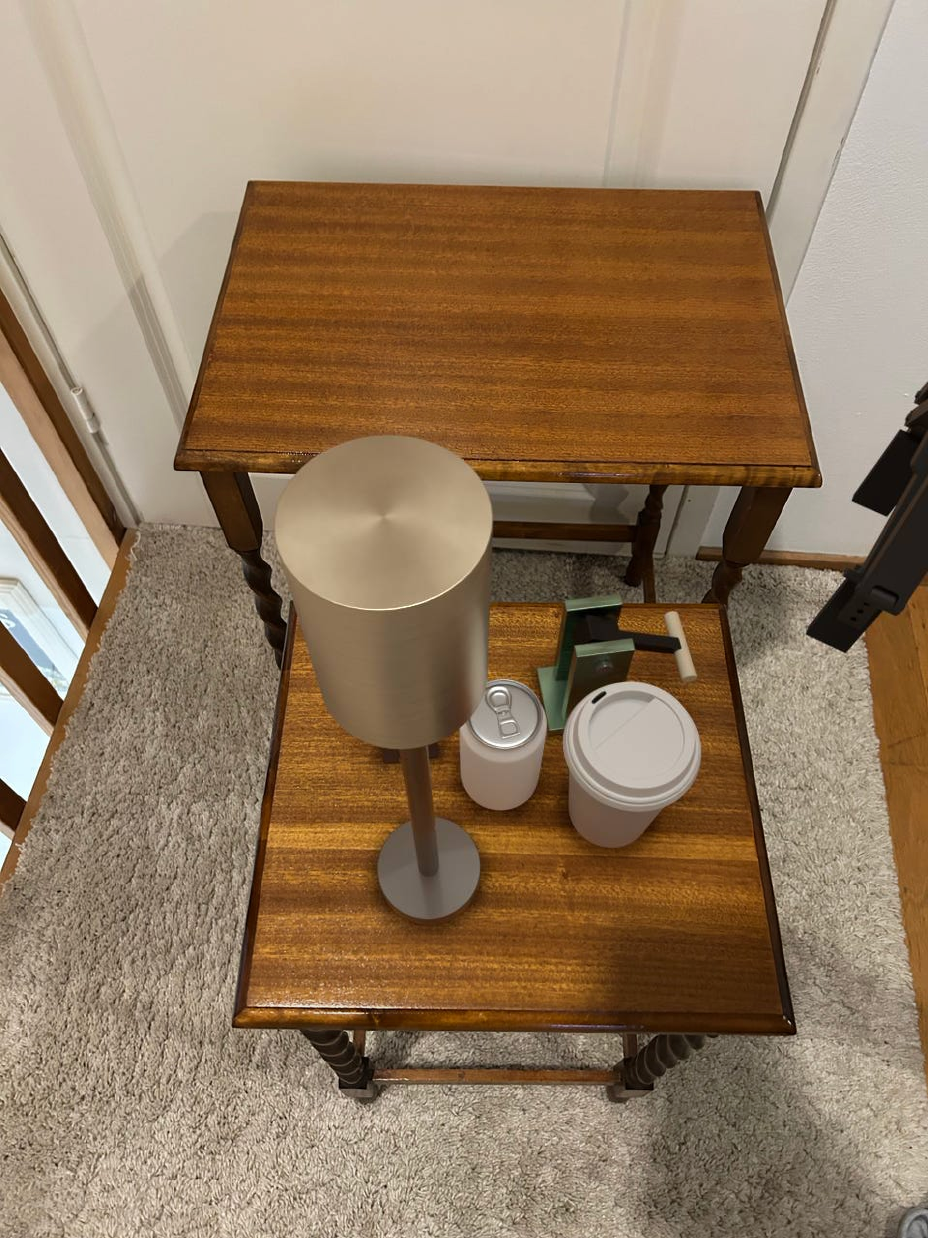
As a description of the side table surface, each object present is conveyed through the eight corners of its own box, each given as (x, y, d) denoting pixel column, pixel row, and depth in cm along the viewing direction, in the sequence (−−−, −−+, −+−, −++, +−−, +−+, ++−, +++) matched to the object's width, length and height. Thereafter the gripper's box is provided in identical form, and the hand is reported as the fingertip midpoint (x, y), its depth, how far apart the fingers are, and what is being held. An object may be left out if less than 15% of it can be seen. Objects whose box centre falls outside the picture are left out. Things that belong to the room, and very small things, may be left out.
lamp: (501, 882, 73) (538, 532, 34) (419, 948, 71) (355, 652, 31) (439, 805, 76) (407, 403, 37) (358, 865, 74) (231, 502, 34)
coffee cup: (638, 740, 79) (670, 654, 66) (687, 845, 74) (732, 775, 62) (532, 774, 78) (544, 693, 65) (575, 883, 73) (598, 819, 60)
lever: (668, 623, 78) (684, 607, 76) (686, 687, 75) (704, 672, 73) (565, 609, 74) (580, 593, 72) (580, 676, 71) (597, 661, 69)
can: (524, 730, 80) (532, 663, 69) (549, 800, 76) (561, 741, 66) (451, 750, 79) (448, 685, 69) (473, 821, 76) (473, 765, 65)
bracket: (613, 664, 83) (635, 585, 72) (628, 725, 80) (654, 653, 69) (535, 674, 82) (546, 596, 72) (548, 736, 79) (561, 665, 68)
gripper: (1010, 170, 54) (838, 438, 71) (939, 420, 40) (747, 678, 57) (1140, 219, 53) (933, 479, 70) (1115, 495, 38) (864, 735, 56)
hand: (849, 569), depth 63 cm, fingers open, 13 cm apart
